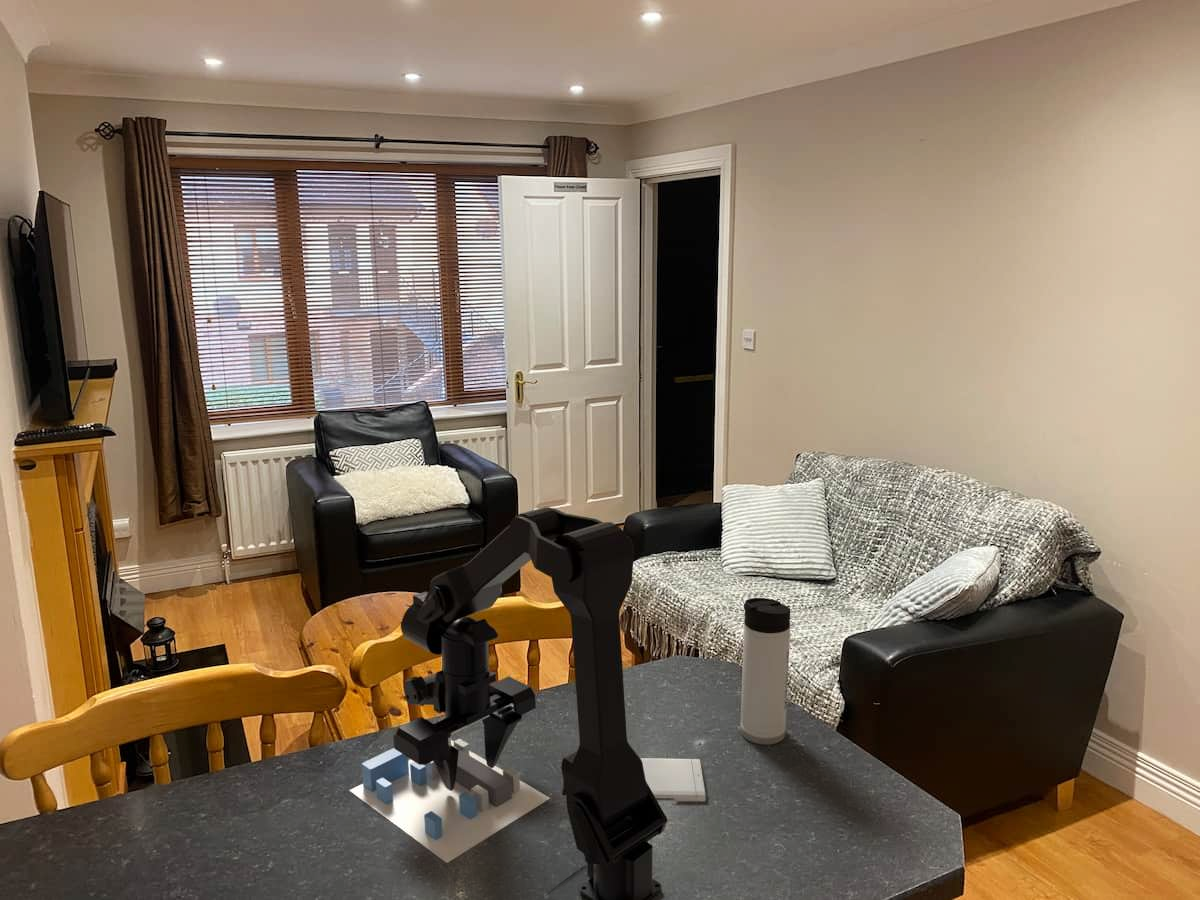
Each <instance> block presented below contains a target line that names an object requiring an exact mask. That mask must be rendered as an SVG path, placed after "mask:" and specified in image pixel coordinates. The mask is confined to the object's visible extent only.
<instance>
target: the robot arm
mask: <svg viewBox="0 0 1200 900" xmlns="http://www.w3.org/2000/svg"><path fill="white" fill-rule="evenodd" d="M634 552H635V551H634V545H633V541H632V540H631V537H630V536H628V535H627V533H625V532H624V530H623V529H622V528H621V527H620V526H619V525H618V524H616V523H613V522H611V521H606V522H605V521H602V520H599V519H597V518H592V517H586V516H581V515H575V514H571V513H570V514H569V513H566V512H563V511H561V510H559V509H557V508H554V507H549V506H548V507H547V506H543V507H540V508H536V509H532V510H529V511H526V512H522V513H519V514H517V515H516V516H515V517H514V518H512V519H511V520H510V523H509V525H508V526H507V527H505V528H504V529H503V530H502V531H501V532H500V533H499V534H498V535H497V536H496V537H494V538H493V539H492V540H491V541H490V542H489V543H488V544H487V545H486V546H484V548H483V549H481V550H480V551H479V552H478V553H477V554H476V555H475V556H474V557H473V558H471V560H469V561H468V562H466V563H464V564H462V565H460V566H456V567H453V568H452V569H448V570H447V571H444V572H442V573H440V574H438V575H435V576H434V577H433V578H432V579H431V580H430V584H429V587H428V588H429V590H428V591H424V592H421V593H417V594H413V595H412V603H411V605H410V606H409V607H408V608H407V609H406V611H405V612H404V614H403V617H402V619H401V620H402V621H401V622H400V631H401V633H402V635H403V637H404V638H405V639H406V640H408V641H410V642H412V643H413V644H415V645H417V646H419V647H421V648H422V649H424V650H425V651H427V652H429V653H431V654H432V655H437V656H438V655H439V656H440V655H441V662H442V663H441V664H442V670H440V671H439V670H438V671H436V672H434V673H432V674H429V675H427V676H422V675H421V676H413V677H411V678H408V679H405V680H404V695H405V699H406V702H407V703H408V705H419V706H420V707H424V706H433V711H434V712H435V713H437V714H442V713H443V714H444V717H445V718H444V719H441V720H439V721H437V722H435V723H433V722H432V721H429V720H428V719H426V718H425V717H422V716H420V717H417V718H415V719H414V720H411V721H410V722H407V723H405V724H403V725H401V726H398V727H397V729H396V730H394V733H393V748H394V749H396V750H397V751H399V752H400V753H402V754H403V755H405V756H407V757H408V759H409V760H413V761H414V762H416V763H417V764H419V765H426V764H428V763H430V762H432V761H433V762H434V764H435V766H436V768H437V770H438V772H439V774H440V776H441V778H442V781H443V783H444V785H445V787H446V788H447V789H448V790H450V791H452V790H453V789H454V785H455V781H456V772H457V763H458V754H459V750H458V749H456V748H454V747H453V746H451V740H452V735H453V736H454V734H456V733H458V732H459V733H460V731H462V730H464V729H467V728H469V727H470V726H473V725H474V724H477V723H479V722H481V721H482V724H483V734H484V735H483V738H484V754H485V755H484V756H485V760H486V762H487V766H489V767H490V768H493V767H495V766H496V765H497V762H498V761H499V759H500V756H501V755H502V752H503V750H504V748H505V746H506V744H507V742H508V741H509V738H510V737H511V735H512V733H513V732H514V730H515V728H516V726H517V725H518V723H519V722H521V721H522V720H523V715H525V714H527V713H530V712H531V711H533V710H535V709H536V707H537V696H536V695H537V694H536V692H535V690H534V688H533V687H531V686H530V685H527V684H525V683H523V682H522V681H519V680H517V679H515V678H513V677H511V676H506V677H504V678H501V679H500V680H497V674H496V673H495V672H493V671H491V670H490V664H489V663H490V662H489V642H490V641H492V640H496V639H498V637H499V633H498V632H497V631H496V629H495V628H494V627H493V626H491V625H490V624H489V622H488V621H487V619H486V618H483V619H479V620H478V618H474V617H471V615H474V614H477V613H479V612H480V613H481V612H482V611H485V610H488V609H491V608H492V607H493V606H494V605H495V603H496V602H497V600H498V599H499V598H500V597H501V595H502V593H503V590H502V589H503V588H502V585H503V584H504V583H505V582H506V581H507V580H508V579H510V578H511V577H512V576H513V575H514V574H516V573H517V572H518V571H519V570H520V569H522V568H523V567H524V566H526V565H527V564H528V563H529V562H530V561H531V563H532V565H533V567H534V569H535V570H537V571H539V572H540V573H542V574H544V575H546V576H548V577H550V579H551V582H552V588H553V592H554V594H555V595H556V597H557V598H558V600H560V602H561V604H562V605H563V606H564V608H565V609H566V610H567V611H568V613H569V615H570V622H571V624H570V625H571V633H572V634H571V635H572V636H571V637H572V650H573V651H572V652H573V663H574V664H573V665H574V678H575V681H574V682H575V693H576V696H575V697H576V706H577V707H576V708H577V720H578V721H577V723H578V734H579V736H578V738H579V744H578V745H579V746H578V748H577V751H574V752H573V753H571V754H569V755H567V756H565V757H564V758H562V761H561V766H560V767H561V768H560V770H561V774H562V779H563V781H562V782H563V784H562V785H563V788H562V791H561V794H562V796H564V797H566V798H565V799H566V802H565V803H566V809H567V814H568V818H569V822H570V825H571V829H572V830H571V831H572V833H573V838H574V842H575V845H576V849H577V850H578V851H580V852H581V853H582V854H583V856H584V861H585V863H586V865H587V870H586V871H587V877H588V878H589V879H588V880H587V881H585V882H584V883H583V884H581V885H580V886H579V894H581V895H582V896H583V897H585V898H587V899H588V900H652V899H653V898H654V897H655V896H656V895H658V894H659V893H660V892H661V891H662V884H661V883H660V882H659V881H657V880H655V879H653V847H654V846H653V844H651V843H649V841H650V840H652V839H653V838H654V837H656V836H659V835H661V834H662V833H664V831H665V830H666V829H665V828H666V825H667V823H668V817H667V816H666V814H665V812H664V811H663V809H662V807H661V805H660V803H659V802H658V800H657V798H655V796H654V794H653V793H652V791H651V789H650V787H649V785H648V784H647V782H646V779H645V774H644V769H643V763H642V760H641V759H640V758H641V757H640V756H639V755H638V753H637V752H636V751H635V750H634V748H633V747H632V746H631V744H630V743H629V742H628V736H627V735H628V734H627V721H626V718H627V717H626V703H625V699H626V698H625V687H624V685H625V684H624V669H623V653H622V635H621V623H620V622H621V621H620V612H621V609H622V606H623V604H624V601H625V599H626V596H627V595H628V593H629V590H630V588H631V586H632V584H633V574H634V573H633V571H634V560H635V559H634V557H635V555H634V554H635V553H634Z"/></svg>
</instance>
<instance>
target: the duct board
mask: <svg viewBox="0 0 1200 900" xmlns="http://www.w3.org/2000/svg"><path fill="white" fill-rule="evenodd" d="M451 745H452V746H454V747H456V748H457V749H459V750H461V751H463V752H464V753H466V754H468V755H469V756H471V757H473V758H474V759H476V760H478V761H479V762H481V763H483V764H484V765H486V766H487V762H486V758H485V759H484V758H482V757H481V756H480V755H478V754H476V753H474V752H473V751H472V750H470V744H469V743H468V742H466V741H465V740H463V739H461V738H458V739H456V740H452V739H451ZM488 767H489V766H488ZM489 768H490V767H489ZM491 769H493V770H495V771H496V772H498V773H500V774H501V775H503V776H505V777H506V778H508V779H510V780H511V789H512V799H510V800H508V801H507V802H505V803H503V804H502V805H500V806H498V807H497V808H496V807H495V806H493V805H492V804H490V803H489V800H488V791H487V790H485V789H484V788H482V787H480V786H479V785H476V786H475V787H473V788H471V791H470V790H468V789H467V788H465V787H463V786H462V785H460V784H459V783H457V782H456V781H455V785H454V789H453V790H452V791H450V790H448V789H447V788H446V787H445V785H444V783H443V781H442V778H441V776H440V774H439V772H438V770H437V768H436V766H435V764H434V762H433V761H432V762H430V763H428V764H426V765H419V764H417V763H416V762H414V761H413V760H411V759H409V758H408V757H407V756H405V755H403V754H402V753H400V752H399V751H397V750H396V749H394V747H393V748H391V749H389V750H387V751H384V752H382V753H380V754H378V755H376V756H374V757H372V758H370V759H368V760H366V761H364V762H362V763H361V774H362V777H361V778H362V784H359V785H357V786H355V787H353V788H351V789H349V790H348V791H349V792H350V793H352V794H354V795H355V796H356V797H357V798H359V799H360V800H361V801H363V802H364V803H365V804H367V805H368V806H369V807H371V808H372V809H373V810H375V812H378V814H380V815H381V816H383V817H384V818H386V819H387V820H388V821H389V822H391V823H392V824H394V825H395V827H398V828H399V829H401V830H402V831H403V832H404V833H405V834H407V835H408V836H410V837H411V838H413V839H414V840H415V841H416V842H418V843H419V844H420V845H422V846H423V847H424V848H426V849H427V850H429V851H430V852H431V853H433V854H434V855H435V856H437V857H438V858H440V859H441V860H442V861H443V862H445V863H446V864H448V863H449V862H451V861H452V860H455V858H458V857H459V856H461V855H462V854H464V853H466V852H468V850H470V849H472V848H473V847H475V846H477V845H478V844H480V843H482V842H483V841H485V840H486V839H487V838H489V837H491V836H493V835H494V834H496V833H497V832H498V831H500V830H502V829H503V828H505V827H507V826H508V825H510V824H511V823H512V824H513V822H515V821H516V820H518V819H520V818H521V817H523V816H525V815H526V814H528V813H529V812H531V811H532V810H534V809H536V808H537V807H538V806H540V805H542V804H543V803H545V802H547V801H549V800H550V799H551V797H549V796H548V795H546V794H544V793H542V792H541V791H540V790H539V791H538V789H535V788H533V787H532V786H530V785H528V784H527V783H525V782H524V781H523V780H521V778H520V773H519V772H518V771H517V770H514V769H513V768H511V767H507V768H505V769H501V768H500V767H498V766H496V765H495V767H493V768H491Z"/></svg>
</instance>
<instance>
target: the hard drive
mask: <svg viewBox="0 0 1200 900" xmlns="http://www.w3.org/2000/svg"><path fill="white" fill-rule="evenodd" d="M640 759H641V760H642V763H643V769H644V774H645V779H646V782H647V784H648V785H649V787H650V789H651V791H652V793H653V794H654V796H655V798H656V799H672V800H671V802H706V799H707V798H706V797H707V796H706V789H705V784H704V777H703V770H702V765H701V760H700V758H663V757H662V758H661V757H660V758H659V757H658V758H653V757H652V758H651V757H650V758H649V757H648V758H647V757H646V758H645V757H643V758H641V757H640Z"/></svg>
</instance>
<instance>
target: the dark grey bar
mask: <svg viewBox="0 0 1200 900" xmlns="http://www.w3.org/2000/svg"><path fill="white" fill-rule="evenodd" d="M451 746H452V745H451ZM453 747H454V746H453ZM454 748H456V747H454ZM456 749H457V748H456ZM458 750H459V749H458ZM456 782H457V783H459V784H460V785H462V786H463V787H465V788H467V789H468V790H470V791H471V788H473V787H475V786H476V785H479V786H480V787H482V788H484V789H485V790H487V791H488V800H489V803H490V804H492V805H493V806H495V807H496V808H497V807H498V806H500V805H502V804H503V803H505V802H507V801H508V800H510V799H512V789H511V780H510V779H508V778H506V777H505V776H503V775H501V774H500V773H498V772H496V771H495V770H493V769H491V768H489V767H488V766H486V765H484V764H483V763H481V762H479V761H478V760H476V759H474V758H473V757H471V756H469V755H468V754H466V753H464V752H463V751H461V750H459V754H458V763H457V772H456Z"/></svg>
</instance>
